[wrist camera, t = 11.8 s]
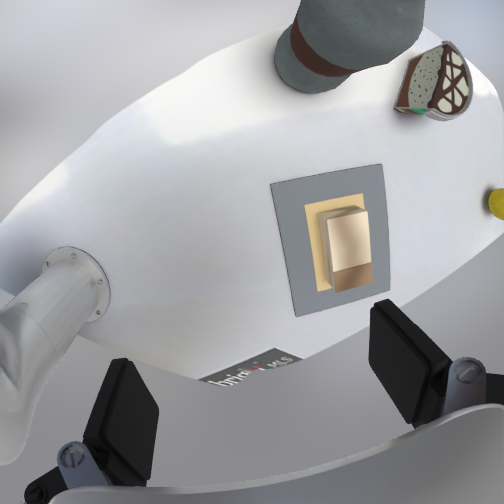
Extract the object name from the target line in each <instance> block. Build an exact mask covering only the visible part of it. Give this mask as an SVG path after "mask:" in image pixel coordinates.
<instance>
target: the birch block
mask: <svg viewBox="0 0 504 504" xmlns="http://www.w3.org/2000/svg"><path fill="white" fill-rule="evenodd" d="M317 214H318V221H319V227H320V234H321V241H322V249H323V257H324V265H325V273H326V280H327V281H328V283H329V284H330V286H331V287H332V288H333V290H334V291H335V293H338V292H341V291H345V290H348V289H352V288H355V287H359V286H362V285H366V284H369V283H373V280H372V262H371V249H370V235H369V223H368V212H367V211H366V210H364V209H362V208H360V207H358V206H356V205H351V206H347V207H342V208H337V209H332V210H328V211H323V212H318V213H317Z"/></svg>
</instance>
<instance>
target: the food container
mask: <svg viewBox="0 0 504 504" xmlns="http://www.w3.org/2000/svg"><path fill="white" fill-rule="evenodd" d="M442 43H443V44H441V45H439V46H437V47H435V48H433V49H430V50H428V51H426V52H424V53H422V54H420V55H418V56H416V57H414V58H412V59H410V60H409V61H408V64H407V68H406V71H405V74H404V77H403V81H402V84H401V87H400V90H399V93H398V96H397V99H396V102H395V105H394V109H395V110H397V111H399V112H403V113H407V114H422V115H426V116H428V117H429V118H432V119H434V120H438V121H448V120H451V119H454V118H457V117H459V116H461V115H462V114H463V113H464V112H465V111H466V110H467V109H468V108H469V106H470V104H471V100H472V96H473V82H472V77H471V73H470V70H469V67H468V65H467V63H466V61H465V59H464V57H463V55H462V54H461V52H460V51H459V50H458V49H457V47H456V46H455V45H454V44H453V43H452V42H451V41H442Z"/></svg>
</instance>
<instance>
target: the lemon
mask: <svg viewBox="0 0 504 504" xmlns="http://www.w3.org/2000/svg"><path fill="white" fill-rule="evenodd" d="M488 203H489V208H490V210H491V212H492V213H493V215H494V216H496V217H497V218H499V219H502V220H504V189H502V188H500V189H496V190H494V191H493V192H492V193H491V194H490V196H489V201H488Z"/></svg>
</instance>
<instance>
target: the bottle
mask: <svg viewBox="0 0 504 504" xmlns="http://www.w3.org/2000/svg"><path fill="white" fill-rule="evenodd" d="M424 8H425V0H301V2H300V6H299V8H298V11H297V14H296V17H295V19H294V22H293V23H292V24H291V25H290V26H289V27H288V28H287V29H286V30H285V31H284V32H283V34H282V35H281V36H280V38H279V39H278V41H277V45H276V50H275V56H274V58H275V65H276V68H277V70H278V73H279V75H280V77H281V78H282V79H283V80H284V81H285V82H286V83H287V84H288V85H289V86H291V87H293V88H294V89H296V90H299V91H303V92H306V93H320V92H325V91H328V90H331V89H335V88H336V87H338V86H339V85H340V84H341V83H343V82H344V81H345V80H346V79H347V78H348V77H349V76H350V75H351V74H352V73H355V72H358V71H361V70H364V69H367V68H370V67H375V66H379V65H383V64H388V63H389V62H390V61H392V60H393V59H395V58H396V57H397V56H399V55H400V54H402V53H403V52H405V51H406V50H407V49H409V48H410V47H411V46H412V45H413V44H414V43H415V41H416V40H417V39H418V37H419V35H420V33H421V31H422V28H423V19H424Z"/></svg>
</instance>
